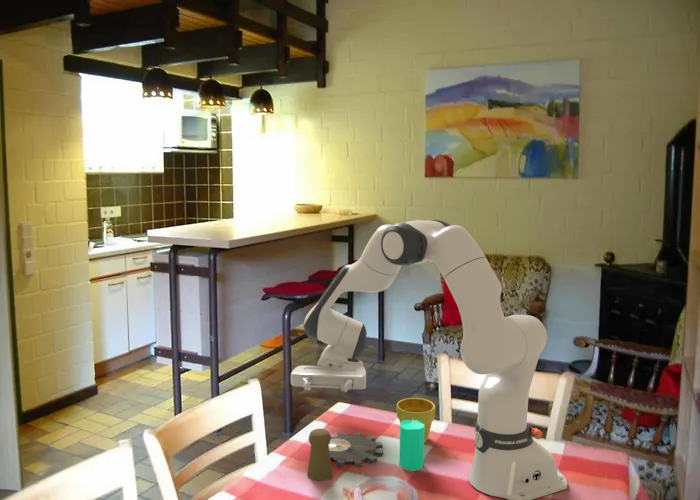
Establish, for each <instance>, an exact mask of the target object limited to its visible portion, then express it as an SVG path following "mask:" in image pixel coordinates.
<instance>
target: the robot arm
mask: <svg viewBox="0 0 700 500" xmlns="http://www.w3.org/2000/svg"><path fill="white" fill-rule="evenodd" d="M430 263H434V264H435V266H437V268H438V270H439V272H440V274H441V275H442V278H443V280H444V281H445V284H446V285H447V287H448V290H449V291H450V293H451V295H452V297H453V300H454V302H455V303H456V305H457V308H458V312H459V315H460V318H461V323H462V340H461V342H460V347H459V349H460V350H459V351H460V352H459V353H460V356H461V359H462V362H463V363H464V364H465V367H467V369H468V370H470V371H471V372H472V373H474V374H478V375H485V378H484V380H483V381H482V383H481V384H480V386H479V389H478V395H477V396H478V397H477V398H478V399H477V401H478V403H477V419H476V421H475V427H474V428H475V431H474V446H475V448H474V449H475V450H474V457H473V461H472V464H471V469H470V472H469V474H468V482H469V483H470V485H471V486H473V488H474V489H476V490H477V491H479V492H481V493H483V494H486V495H489V496H491V497H498V498H502V499H506V500H534V499H538V498H542V497H544V496H547V495H551V494H554V493H557V492H561V491H564V490H567V489H568V482H567V478H566V477H565V476H564V474H562V473H561V471H560V470H559V469H558V465H557V462H556V459H555V457H554V456H553V454H552V453H551V452H550V451H548V449H546V448H545V447H544V446H543V445H542V444H540V443H539V442H537V441H536V440H540V439H542V437H543V432H542V431H541V430H540V429H538V428H537V427H534V428H533V426H532V425H531V424H530V423H528V409H529V408H528V407H529V406H528V405H529V396H530V390H531V386H532V383H533V379H534V376H535V372H536V368H537V364H538V360H539V359H540V357H541V354H542V351H543V350H544V349H545V348H546V345H547V341H548V335H547V330H546V327H545V325H544V324H543V322H541V320H540V319H539V318H537V317H535V316H533V315H529V314H511V315H509V316H505V314H504V312H503V309H502V302H501V294H502V290H503V288H502V283H500V281H499V279H498V277H497V274H496V273H495V272H494V270H493V268H492V266H491V264H490V262H489V261H488V259H487V257H486V255H485V253H484V251H482V248H481V247H480V246H479V244H478V243H477V241H476V240H475V238H474V237H473V236H472V235H471V234H470V233H469V231H468V230H467V229H466V228H465V227H463V226H461V225H457V224H453V225H451V224H450V223H448V222H446V221H444V220H439V219H432V220H427V219H426V220H421V219H416V220H414V219H413V220H410V221H404V222H402V221H401V222H397V223H394V224H389V223H388V224H383V225H380V226H379V227H377V228H376V231H374V233H373V234H372V235H371V237H370V238H369V240H368V241H367V244H366V245H365V248H364V249H363V251H362V254H361V256H360V257H359V259H358V260H356V261H355V262H354V263H352V264H345V265H344V266H343V267H342V268H341V269H340V270H339V271H338V272H337V274H336V275H335V277H334V278H333V279H332V281H331V282H330V284H329V285H328V287H327V288H326V289H325V290H324V292H323V293H322V295H321V296H320V298H319V299H318V301H317V302H316V303H315V305H314V306H313V307H312V308H311V309H310V310H309V311H308V313H307V314H306V316H305V318H304V320H303V325H302V326H303V329H304V332H305V334H306V336H307V337H308V338H311V339H313V340H315V341H319V342H322V343H325V344H326V347H324V350H323V351H322V353H321V354H320V357H319V359H318V361H317V364H316V365H306V364H305V365H298V366H296V367H295V368H294V369H293V370H292V371H291V373H290V384H291V386H293V387H303V389H304V391H311V389H312V388H323V389H325V388H326V389H340V392H341V393H348V391H350V390H365V389H366V388H367V370H366V368H365V366H364V362H363V361H362V360H360V359H358V358H359V357H360V355H361V354H362V352H363V349H364V346H365V344H366V339H367V335H368V333H367V332H368V331H367V329H366V325H365V324H364V323H363V322H361V321H358V320H357V319H354V318H352V317H350V316H347V315H345V314H343V313H341V312H339V311H337V310H334V309H333V308H332V307H333V305H334V304H335V303H336V301H337V300H338V298H339V297H340V296H341V294H344V293H346V292H363V293H367V294H374V293H379V292H383V291H386V290H387V289H389V288H390V287H391V286H392V284H393V283H394V281H395V280H396V278H397V276H398V275H399V272H400V270H401V268H402V267H404V266H405V267H407V266H411V265H425V264H430ZM533 437H534V438H533Z"/></svg>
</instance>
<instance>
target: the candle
mask: <svg viewBox="0 0 700 500" xmlns="http://www.w3.org/2000/svg"><path fill="white" fill-rule="evenodd" d="M424 430H425V425H424V424H422V423H421V422H419V421H418V420H414V421H413V419H412V421H410V420H405V421H403V422H401V424H400V423H399V464H398V465H399V466H400V468H402V469H403V470H406V471H413V472H414V471H420V470H421V469H423V468H424V464H425V463H424V461H425V443H424Z"/></svg>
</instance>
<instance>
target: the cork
mask: <svg viewBox="0 0 700 500" xmlns="http://www.w3.org/2000/svg"><path fill="white" fill-rule="evenodd" d="M331 437H332V436H331V433H330V431H329V430H327V429H325V428H315V429H312V430H311V431H310V433H309V436H308V442H309V444H310V451H309V458H308V459H309V460H308V466H307V475H306V476H307V478H308V479H309V480H312V481H315V482H324V481H327V480H329V479H331V478H332V476H333V469H332V461H331V460H330V453H329V445H328V444H329V443H330V440H331Z"/></svg>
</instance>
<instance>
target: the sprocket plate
mask: <svg viewBox="0 0 700 500" xmlns="http://www.w3.org/2000/svg"><path fill="white" fill-rule="evenodd" d="M328 445H329V453H330V460H331V462H334V463H336V467H340V468H345V466H346V465H353V467H354V468H359V467H360V468H361V467H363V463H365V462H368V463H370V464H372V465H373V464H374V463H376V462H377V461H378V457H383V455H384V448H383V447H384V445H383V443H382V442H381V441H376V438H375V436H373V435H368V436H365V437H364V436H362V434H361V432H354V433H353V434H351V435H350V434H348V435H347V434H346V433H345V432H338V433H337V436H334V437H333V436H331V440H330V443H329V444H328Z"/></svg>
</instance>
